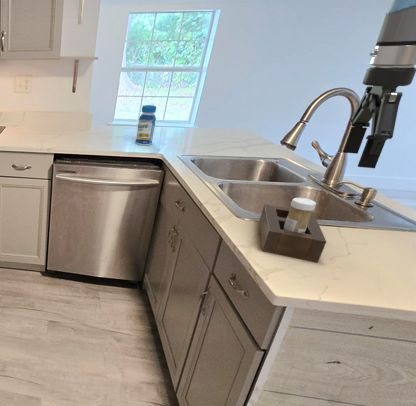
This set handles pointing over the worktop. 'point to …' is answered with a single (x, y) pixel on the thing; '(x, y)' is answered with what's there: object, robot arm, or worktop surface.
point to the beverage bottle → (146, 125)
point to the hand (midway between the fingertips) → (357, 159)
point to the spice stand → (290, 235)
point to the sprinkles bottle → (299, 215)
